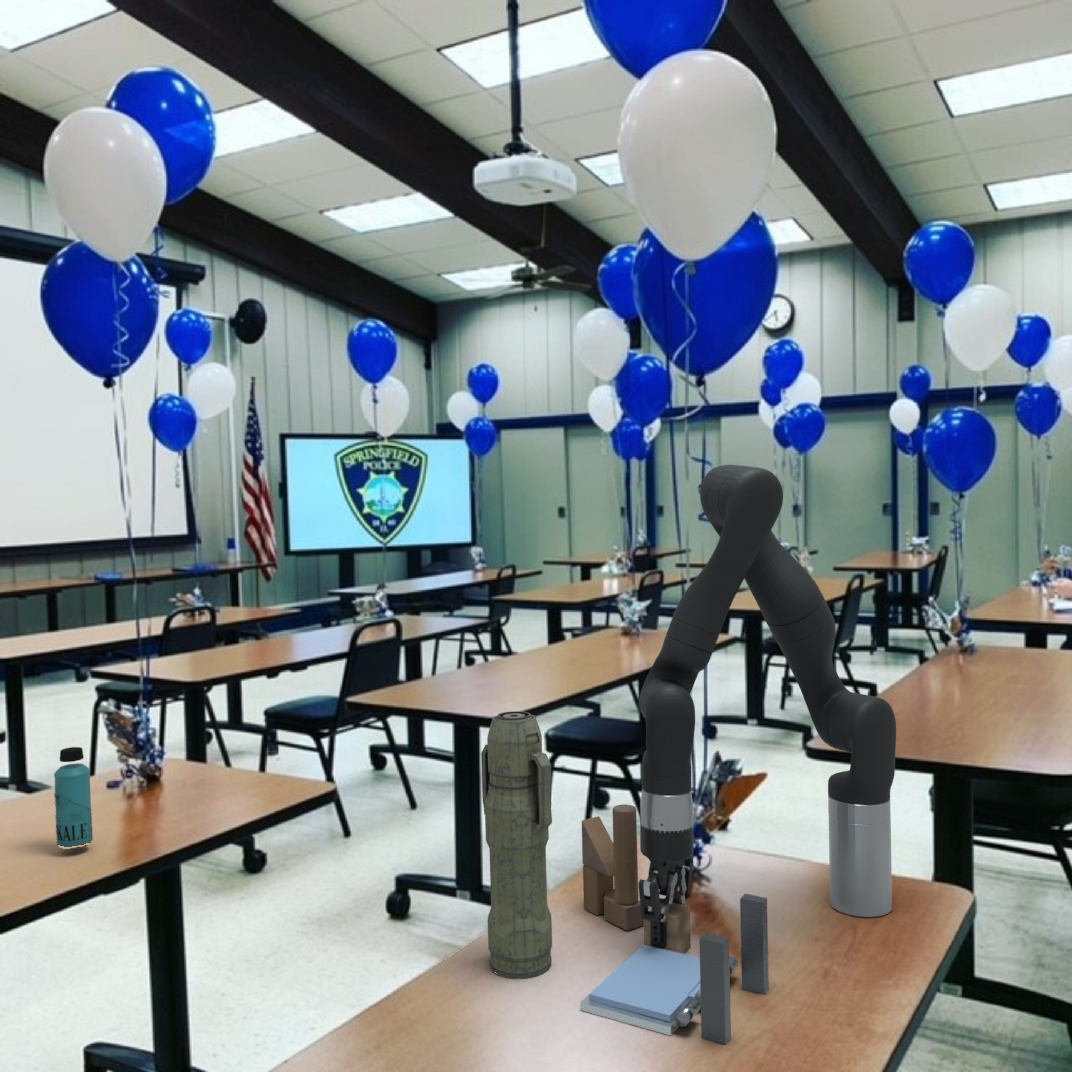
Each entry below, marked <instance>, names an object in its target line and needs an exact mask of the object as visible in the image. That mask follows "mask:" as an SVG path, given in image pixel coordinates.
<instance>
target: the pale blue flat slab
mask: <svg viewBox="0 0 1072 1072" xmlns="http://www.w3.org/2000/svg"><path fill="white" fill-rule="evenodd" d="M588 995H589V1000H590V1001H594V1002H597V1003H601V1004H605V1005H609V1006H612V1007H616V1008H620V1009H624V1010H627V1011H631V1012H635V1013H639V1014H642V1015H646V1016H650V1017H654V1018H657V1019H661V1020H665V1021H669V1022H671V1021H672V1019H673V1018H674V1017H675V1016H676V1014H677V1013H678V1012H679V1011H680V1010H681V1009H682V1008H683V1007H684V1006H685V1005H686V1003H687V1002H688V1001H689V1000H690V999H696V1000H698V1001H699V1003H700V1005H701V988H700V956H694V955H692V954H691V955H690V954H686V953H685V954H682V953H678V952H673V951H669V950H664V949H660V948H656V947H651V946H647V945H644V944H643V945H641V947H640V948H638V949H637V951H635V952H634V953H633V954H632V955H631V956H630V957H629V958H628V959H626V960H625V961H623V963H622V964H620V965H619V966H618V967H617V968H616V969H615V970H614V971H613V972H611V974H610V975H609V976H608V977H606V978H605V979H603V981H601V982H600V984H598V985H597V986H596V987H595V988H594V989H593V990H592V991H590V992H589V993H588Z"/></svg>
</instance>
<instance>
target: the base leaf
mask: <svg viewBox="0 0 1072 1072" xmlns="http://www.w3.org/2000/svg"><path fill="white" fill-rule="evenodd" d="M739 907H740V908H739V912H740V913H739V915H740V918H739V919H740V955H741V956H740V957H741V958H740V961H741V968H740V969H741V990H744V991H748V992H752V993H756V994H760V995H765V994H766V993H767V992H768V990H769V989H770V987H769V984H770V983H769V981H770V980H769V979H770V977H769V932H768V929H769V928H768V897H765V896H759V895H753V894H749V893H748V894H747V893H744V894H743V895H742V896H741V897H740V898H739ZM698 940H699V942H698V943H699V957H700V988H701V1004H700V1003H699V1001H698V1000H696V999H690V1000H689V1001H688V1002H687V1003H686V1005H685V1006H684V1007H683V1008H682V1009H681V1010H680V1011H679V1012H678V1013H677V1014H676V1016H675V1017H674V1018H673V1019H672V1021H671V1022H669V1021H665V1020H661V1019H657V1018H654V1017H650V1016H646V1015H642V1014H639V1013H635V1012H631V1011H627V1010H624V1009H620V1008H616V1007H612V1006H609V1005H605V1004H601V1003H597V1002H594V1001H590V1000H589V994H588V995H587V996H586V997H584V999H582V1000H581V1001H580V1002H579V1005H580V1007H579V1008H580V1009H579V1010H580V1011H582V1012H586V1013H590V1014H593V1015H597V1016H600V1017H603V1018H607V1019H611V1020H614V1021H617V1022H620V1023H624V1024H627V1025H628V1024H629V1025H631V1026H635V1027H639V1028H642V1029H646V1030H650V1031H653V1032H656V1033H661V1034H664V1035H666V1036H670V1037H671V1036H672V1035H673V1033H675V1032H676V1030H677V1029H679V1027H686V1026H687V1025H688V1024H689V1023H690V1022H691V1020H693V1018H694V1017H695V1016H696V1015H697V1014H698V1013H699V1011H700V1027H701V1028H700V1029H701V1032H700V1033H701V1038H702V1039H704V1040H708V1041H710V1042H713V1043H717V1044H718V1043H719V1044H722V1045H727V1043H728V1042H729V1041H730V1039H731V1038H732V1023H731V1022H732V1021H731V1020H732V1019H731V1017H732V1016H731V974H732V973H734V972H735V970H736V969H737V968H738V967H739V961H738V959H737V958H736V957H735V956H733V955H731V956H730V937H727V936H721V935H717V934H713V933H708V932H704V933H703V935H701V937H699V939H698Z"/></svg>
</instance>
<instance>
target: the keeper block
mask: <svg viewBox="0 0 1072 1072" xmlns="http://www.w3.org/2000/svg"><path fill="white" fill-rule="evenodd" d="M660 907H661V910H662V905H661V904H660ZM648 909H649V907H648ZM666 922H667V946H666V947H665V948H664V950H669V951H673V952H678V953H682V954H686V953H687V952H688V951H689V950H690V949H691V948H692V947H691V944H692V943H691V942H692V941H691V937H692V936H691V905H687V904H685V905H682V904H677V903H672V905H670V906H669V907H668V914H667V920H666ZM643 945H647V946H651V947H653V946H652V945H651V943H650V921H649V920H644V919H643Z"/></svg>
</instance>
